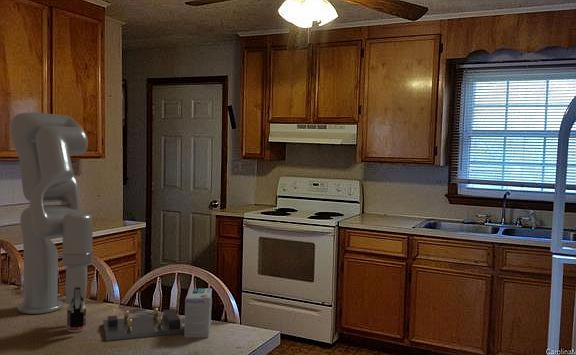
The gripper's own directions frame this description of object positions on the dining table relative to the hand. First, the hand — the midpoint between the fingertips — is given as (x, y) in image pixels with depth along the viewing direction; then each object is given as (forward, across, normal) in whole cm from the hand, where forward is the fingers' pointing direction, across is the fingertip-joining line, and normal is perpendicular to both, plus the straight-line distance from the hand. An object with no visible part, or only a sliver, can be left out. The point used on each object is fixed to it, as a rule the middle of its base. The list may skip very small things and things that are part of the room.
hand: (76, 321), depth 144 cm
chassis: (+2, +4, +17) cm, 18 cm away
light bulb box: (+3, +11, +31) cm, 33 cm away
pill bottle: (+2, 0, 0) cm, 2 cm away
